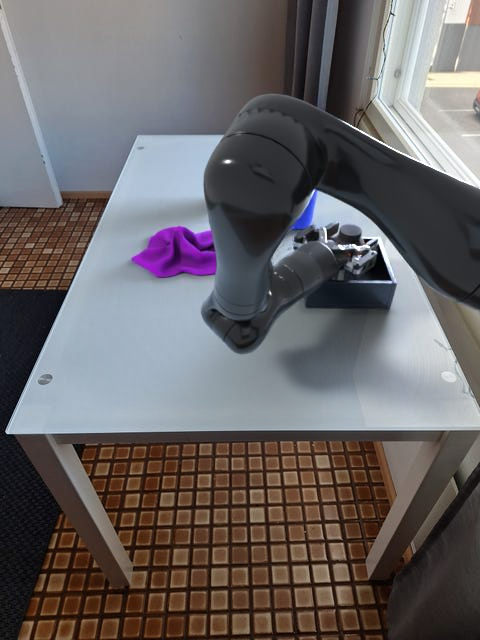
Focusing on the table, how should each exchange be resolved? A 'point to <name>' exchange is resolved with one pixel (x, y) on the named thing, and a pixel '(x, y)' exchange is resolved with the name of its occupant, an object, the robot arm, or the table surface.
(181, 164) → the table surface
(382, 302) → the dark open box
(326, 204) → the table surface
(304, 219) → the mug
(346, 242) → the supplement bottle
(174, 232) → the cloth
